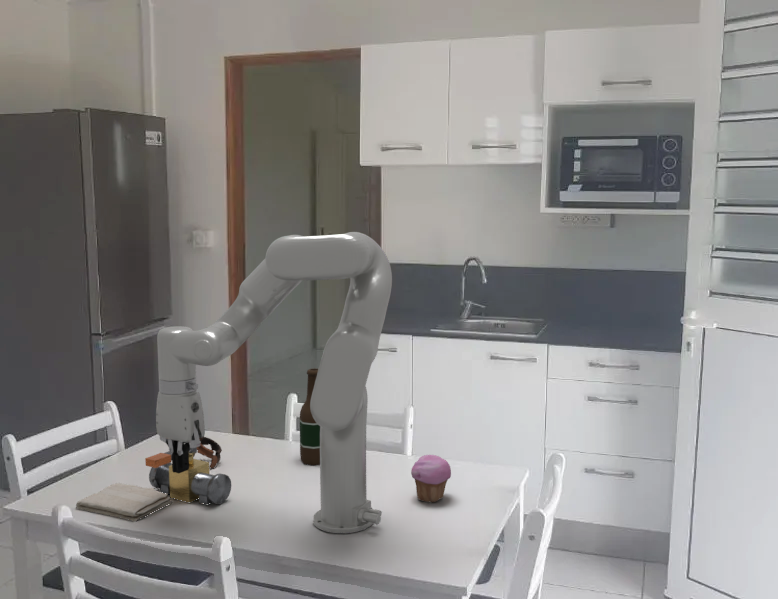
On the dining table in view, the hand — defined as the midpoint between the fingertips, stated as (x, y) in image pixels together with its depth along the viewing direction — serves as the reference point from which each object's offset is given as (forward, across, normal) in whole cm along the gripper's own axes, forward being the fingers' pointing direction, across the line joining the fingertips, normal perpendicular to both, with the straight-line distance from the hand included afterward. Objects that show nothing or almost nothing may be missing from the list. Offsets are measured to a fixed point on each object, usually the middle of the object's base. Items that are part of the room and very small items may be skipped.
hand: (180, 470), depth 162 cm
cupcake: (+10, -42, -34) cm, 55 cm away
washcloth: (+10, +15, +3) cm, 18 cm away
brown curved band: (+10, +20, -24) cm, 32 cm away
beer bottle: (+10, -4, -42) cm, 44 cm away
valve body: (+10, +6, -8) cm, 14 cm away
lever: (0, +6, -4) cm, 7 cm away
